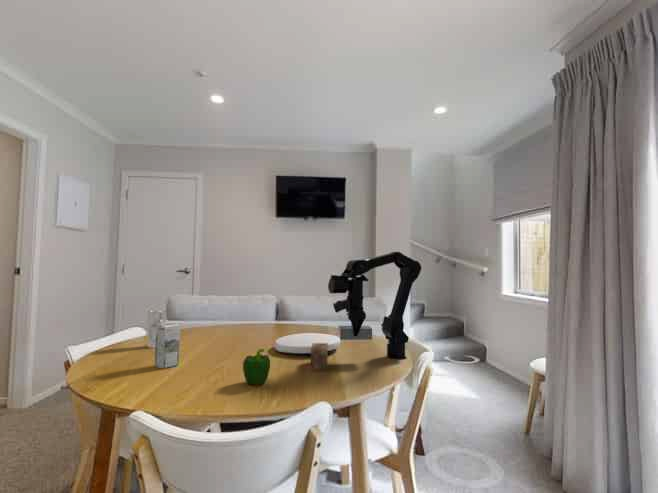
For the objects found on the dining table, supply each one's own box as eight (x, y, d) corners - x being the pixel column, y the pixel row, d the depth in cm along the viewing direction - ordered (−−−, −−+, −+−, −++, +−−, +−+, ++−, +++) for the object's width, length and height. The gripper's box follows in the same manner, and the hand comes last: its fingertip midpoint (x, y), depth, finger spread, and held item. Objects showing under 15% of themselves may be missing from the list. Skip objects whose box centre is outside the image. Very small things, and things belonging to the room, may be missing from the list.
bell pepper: (249, 389, 101) (250, 354, 102) (238, 381, 108) (239, 349, 108) (275, 384, 106) (276, 350, 106) (263, 376, 113) (264, 345, 113)
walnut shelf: (327, 361, 131) (327, 343, 131) (327, 371, 119) (327, 351, 120) (312, 361, 131) (312, 343, 131) (310, 371, 119) (310, 350, 120)
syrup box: (169, 362, 127) (171, 322, 128) (179, 365, 123) (180, 324, 124) (154, 366, 122) (155, 324, 123) (163, 369, 119) (165, 326, 119)
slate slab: (369, 336, 136) (369, 325, 136) (372, 339, 130) (372, 328, 130) (338, 336, 135) (338, 325, 135) (340, 339, 129) (340, 328, 129)
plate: (266, 344, 137) (282, 331, 164) (267, 361, 137) (283, 345, 163) (337, 339, 135) (341, 327, 161) (338, 356, 134) (342, 341, 161)
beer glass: (149, 344, 154) (151, 310, 155) (166, 344, 155) (167, 310, 155) (143, 348, 147) (144, 312, 148) (160, 348, 148) (161, 312, 148)
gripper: (333, 290, 142) (333, 329, 142) (334, 294, 124) (334, 339, 123) (361, 291, 142) (360, 329, 142) (366, 295, 124) (365, 339, 123)
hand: (355, 334), depth 132 cm, fingers closed on slate slab, 6 cm apart
